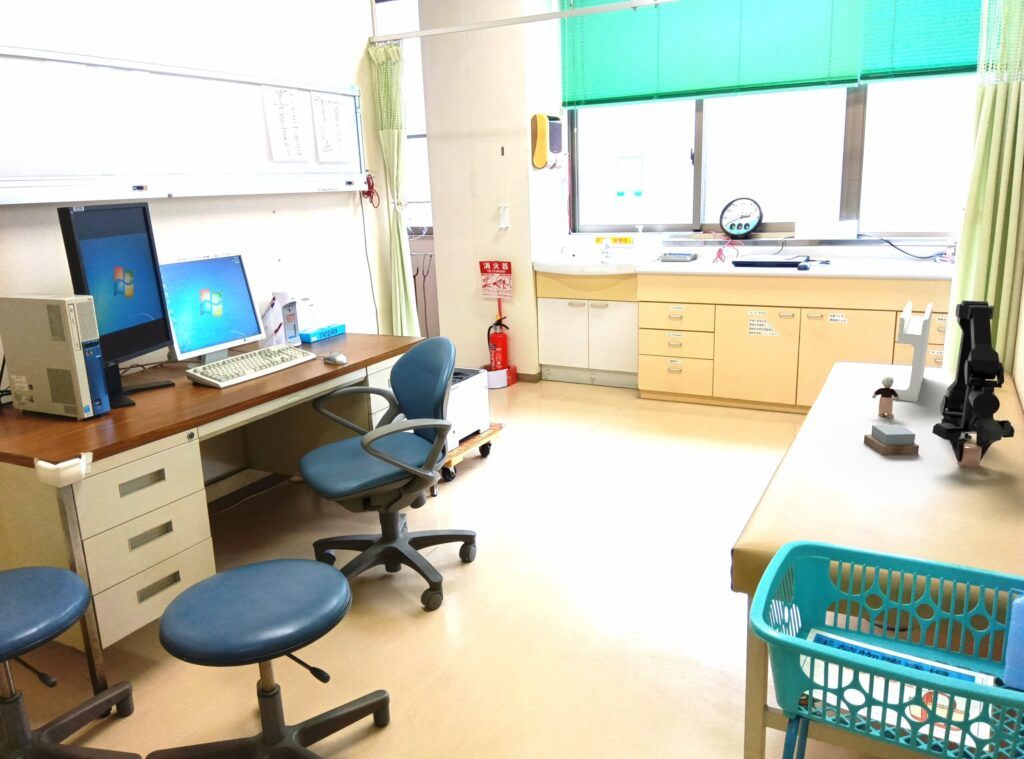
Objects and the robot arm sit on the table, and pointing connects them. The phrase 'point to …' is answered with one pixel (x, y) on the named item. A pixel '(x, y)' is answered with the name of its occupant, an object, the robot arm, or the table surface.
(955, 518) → the table surface
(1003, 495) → the table surface
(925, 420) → the table surface
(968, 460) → the peach domed cylinder
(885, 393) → the grandmother figurine
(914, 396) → the white forked cradle stand
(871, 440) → the walnut base slab
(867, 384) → the table surface
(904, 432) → the grey top slab
